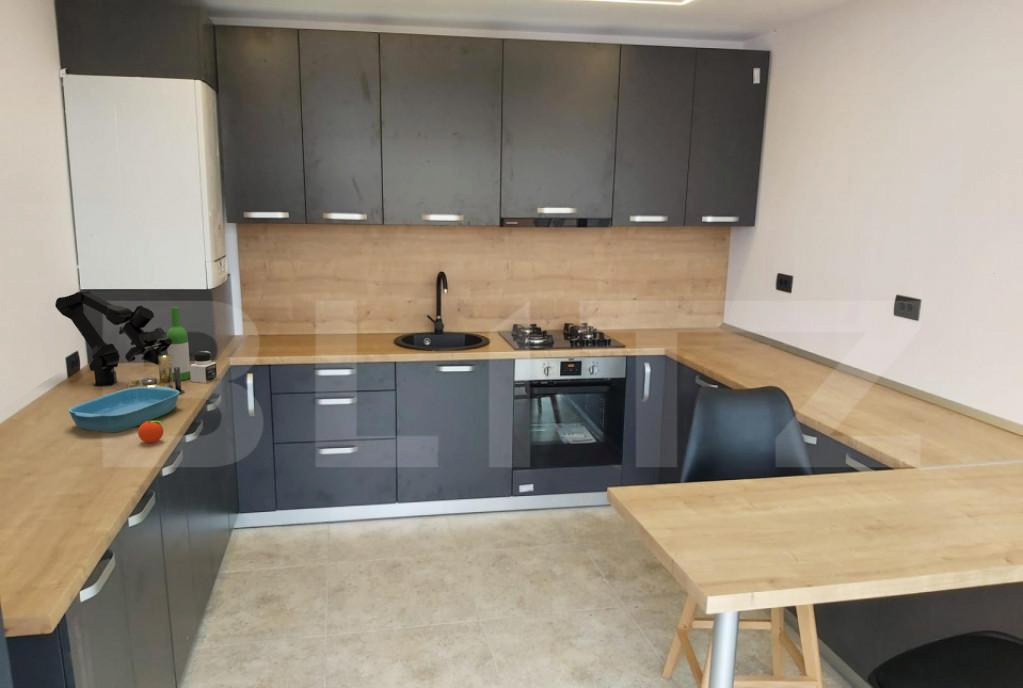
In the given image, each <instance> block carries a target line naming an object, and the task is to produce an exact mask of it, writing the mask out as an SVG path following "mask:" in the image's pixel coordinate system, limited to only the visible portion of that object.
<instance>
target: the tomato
mask: <svg viewBox="0 0 1023 688" xmlns="http://www.w3.org/2000/svg"><path fill="white" fill-rule="evenodd" d="M162 424H163V425H165V423H164V422H163V421H159V420H150V421H146V422H144V423H143V424H140V425H139V428H138V432H137V434H138V438H139V439H140V441H142V442H143V443H146V444H153V443H152V442H154V443H156V442H159V441H160V440H161V439H162V437H163V435H164V427H163V426H162ZM165 426H166V427H168V425H165Z"/></svg>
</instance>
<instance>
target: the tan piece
mask: <svg viewBox="0 0 1023 688" xmlns="http://www.w3.org/2000/svg"><path fill="white" fill-rule="evenodd" d="M158 364H159V365H158V374H159V378H156V376H152V377H147V378H143V379H132V380H131V382H130V383H128V384H127V388H128V389H129V388H134V387H169V388H170V387H171V385H172V382H173V381H174V380H173V377H172V364H171V355H170V354H168V353H164V354H162V353H161V355H158Z"/></svg>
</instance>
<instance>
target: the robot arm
mask: <svg viewBox="0 0 1023 688" xmlns="http://www.w3.org/2000/svg"><path fill="white" fill-rule="evenodd" d="M85 305H86V306H88V307H89V308H91V309H93V310H94V311H97V312H99V313H101V314H102V315H104V316H105V319H106V320H107V321H109V323H111V324H113V325H115V326H120V325H123V326H120V327H119V330H118V334H119V335H124V334H125V335H126V336H127V338H128V339H129V340H130V341H131V342H130V345H131V346H133V347H130V348H129V350H128V351H127V352H126V354H125V355H124V356H125V357H124V358H125V360H127V362H128V363H130V362H134V361H135V360H136V356H140V355H141V356H142V357H141V360H142V361H143V360H145V361H147V362H149V363H152V364H154V365H157V366H159V364H158V355H162V353H163V352H166V351H168V350H167V349H168V348H169V346H170V345H171V344H172V343H173V342H172V340H171V339H170V338H167V337H166V338H164V335H165V334H166V333H165V331H164V329H162V327H160V326H159V327H157V328H155V329H154V330H152V331H150V332H149V331H145V330H144V329H143V328H146V327H147V326H148V324H150V322H151V321H152V320H153V318H154V317H155V313H154V312H153V311H152V310H150V308H147V307H144V305H142V304H141V305H137V306H136V307H135V310H134V311H132V310H131V309H130V308H127V307H125V306H120V305H116V304H115V305H114V304H113V303H110V302H108V301H106V300H104V299H102V298H101V297H99V296H97V295H95V294H94V293H92V292H91V291H89V290H82V291H77V292H74V293H73V294H70V295H68V296H67V295H66V296H61V297H58V298H56V300H55V308H56V310H57V311H58V312H59V313H60V314H61V315H62V316H64V317H66V318H67V319H69V320H71V322H72V324H74V326H75V327H76V328H77V330H78V331H79V333H80V335H81V336H82V337H83V338H84V340H85V342H86V343H87V345H88V346H89V347H90V348H91V357H92V359H93V360H91V362H90V364H89V365H88V367H89V370H90V371H92V372H94V384H93V386H96V387H97V386H98V387H99V386H100V387H101V386H103V387H105V386H106V387H107V386H109V387H110V386H113V385H115V384H116V383H117V382H118V379H117V371H115V368H117V367H118V365H119V362H120V353H119V350H118V349H117V348H116V347H115V345H114V344H113V343H106V342H105V341H104V339H102V337H101V336H100V334H99V333H98V331H97V330H96V328H95V327H94V325H93V324H92V323H91V321H90V320H89V318H88V317H87V316H86V314H85V313H84V312H85V311H84V310H85V309H84V308H85V307H84V306H85ZM158 339H159V341H158Z"/></svg>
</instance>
